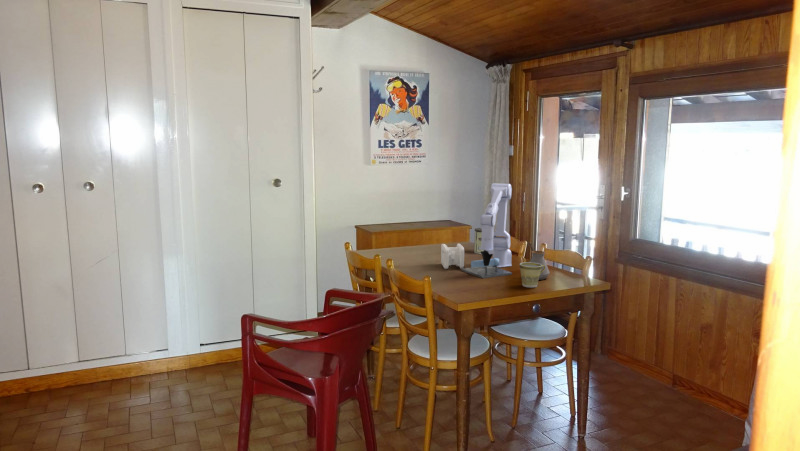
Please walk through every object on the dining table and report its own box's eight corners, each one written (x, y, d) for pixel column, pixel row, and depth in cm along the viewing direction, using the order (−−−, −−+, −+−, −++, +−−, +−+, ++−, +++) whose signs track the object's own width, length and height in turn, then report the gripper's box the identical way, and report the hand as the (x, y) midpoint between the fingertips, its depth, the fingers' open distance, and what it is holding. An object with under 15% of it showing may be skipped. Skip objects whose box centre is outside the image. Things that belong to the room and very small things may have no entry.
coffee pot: (552, 280, 267) (554, 249, 265) (528, 280, 266) (530, 249, 264) (538, 270, 288) (540, 241, 286) (516, 270, 287) (518, 241, 285)
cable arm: (496, 263, 284) (496, 258, 283) (500, 265, 281) (500, 259, 280) (470, 266, 277) (470, 260, 277) (474, 268, 274) (474, 262, 273)
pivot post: (495, 272, 283) (495, 264, 283) (497, 272, 282) (498, 265, 281) (492, 272, 282) (492, 265, 282) (494, 273, 281) (495, 266, 280)
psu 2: (479, 271, 280) (479, 266, 280) (485, 273, 276) (485, 268, 276) (471, 272, 278) (471, 267, 278) (476, 274, 274) (477, 269, 273)
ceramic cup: (527, 289, 250) (528, 267, 249) (514, 284, 260) (515, 263, 258) (550, 286, 256) (552, 265, 254) (537, 281, 265) (538, 261, 263)
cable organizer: (464, 270, 287) (465, 248, 285) (443, 270, 286) (444, 248, 284) (459, 264, 301) (459, 242, 300) (439, 264, 301) (440, 242, 299)
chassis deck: (489, 267, 294) (490, 265, 294) (511, 274, 278) (511, 272, 278) (461, 270, 286) (461, 268, 286) (482, 278, 270) (482, 276, 270)
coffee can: (490, 251, 338) (490, 227, 336) (492, 254, 328) (493, 230, 326) (472, 250, 338) (473, 227, 336) (474, 254, 328) (475, 230, 326)
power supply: (489, 270, 283) (489, 265, 283) (495, 272, 279) (495, 267, 278) (480, 271, 281) (481, 265, 280) (486, 273, 276) (487, 267, 276)
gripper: (475, 236, 281) (474, 262, 283) (483, 241, 267) (482, 269, 269) (489, 236, 282) (488, 262, 284) (497, 241, 268) (496, 268, 270)
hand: (486, 265), depth 276 cm, fingers closed
